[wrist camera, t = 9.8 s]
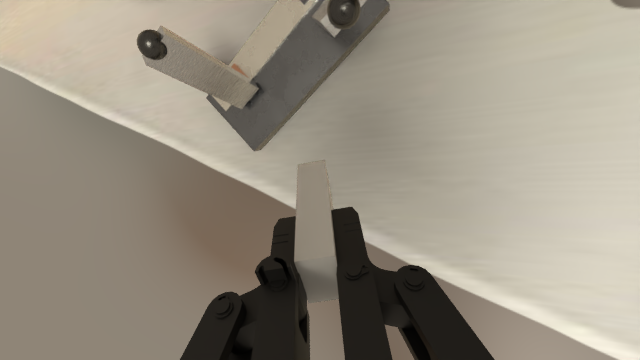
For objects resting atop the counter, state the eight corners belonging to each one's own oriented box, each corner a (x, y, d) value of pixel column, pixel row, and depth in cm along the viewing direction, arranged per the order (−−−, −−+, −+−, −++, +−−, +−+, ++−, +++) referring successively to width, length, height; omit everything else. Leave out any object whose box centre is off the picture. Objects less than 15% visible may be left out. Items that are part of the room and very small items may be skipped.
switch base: (389, 10, 33) (389, 1, 30) (260, 149, 41) (252, 151, 38) (331, -53, 33) (325, -66, 31) (214, 98, 41) (202, 97, 38)
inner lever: (346, 4, 32) (376, 4, 21) (324, 30, 33) (340, 43, 22) (330, -15, 31) (352, -27, 20) (308, 12, 32) (316, 16, 21)
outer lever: (260, 91, 35) (151, 28, 24) (243, 111, 37) (132, 61, 25) (252, 78, 37) (145, 13, 25) (236, 99, 38) (126, 45, 27)
